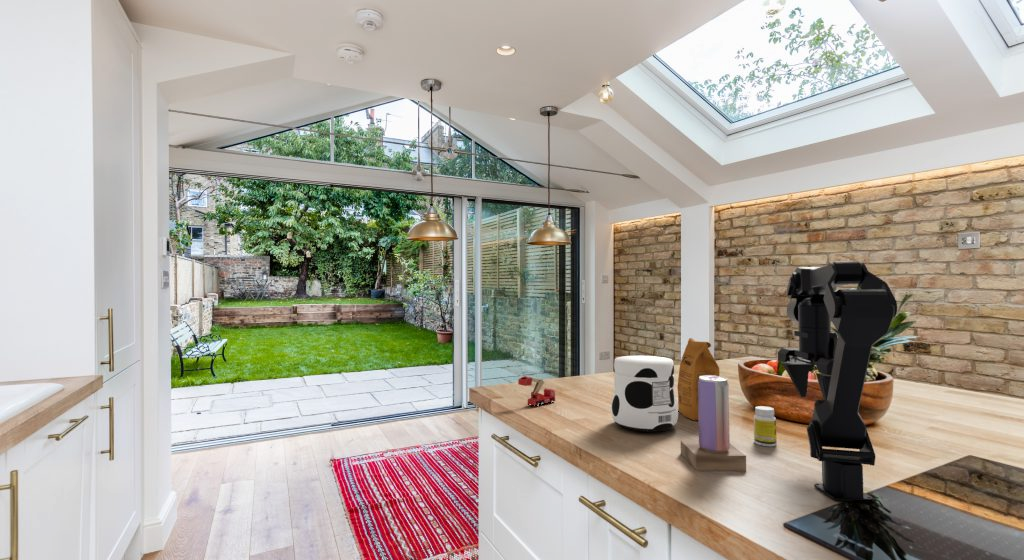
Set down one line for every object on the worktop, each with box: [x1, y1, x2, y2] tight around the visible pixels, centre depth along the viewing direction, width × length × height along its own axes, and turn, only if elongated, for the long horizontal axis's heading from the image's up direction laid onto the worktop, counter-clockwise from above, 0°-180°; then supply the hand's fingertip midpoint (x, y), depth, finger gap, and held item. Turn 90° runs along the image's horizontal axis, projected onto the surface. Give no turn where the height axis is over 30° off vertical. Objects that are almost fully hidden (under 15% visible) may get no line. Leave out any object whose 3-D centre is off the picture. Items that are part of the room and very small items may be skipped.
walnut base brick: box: [680, 439, 747, 472], centre depth 103 cm, size 10×10×3 cm
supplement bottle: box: [753, 405, 777, 447], centre depth 114 cm, size 5×5×8 cm
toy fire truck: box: [517, 375, 556, 405], centre depth 154 cm, size 3×14×10 cm, turn 130°
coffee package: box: [676, 337, 720, 421], centre depth 139 cm, size 10×12×22 cm
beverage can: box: [698, 375, 731, 454], centre depth 102 cm, size 6×6×15 cm
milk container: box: [610, 355, 679, 433], centre depth 129 cm, size 17×17×18 cm
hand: (816, 402), depth 100 cm, fingers open, 9 cm apart
